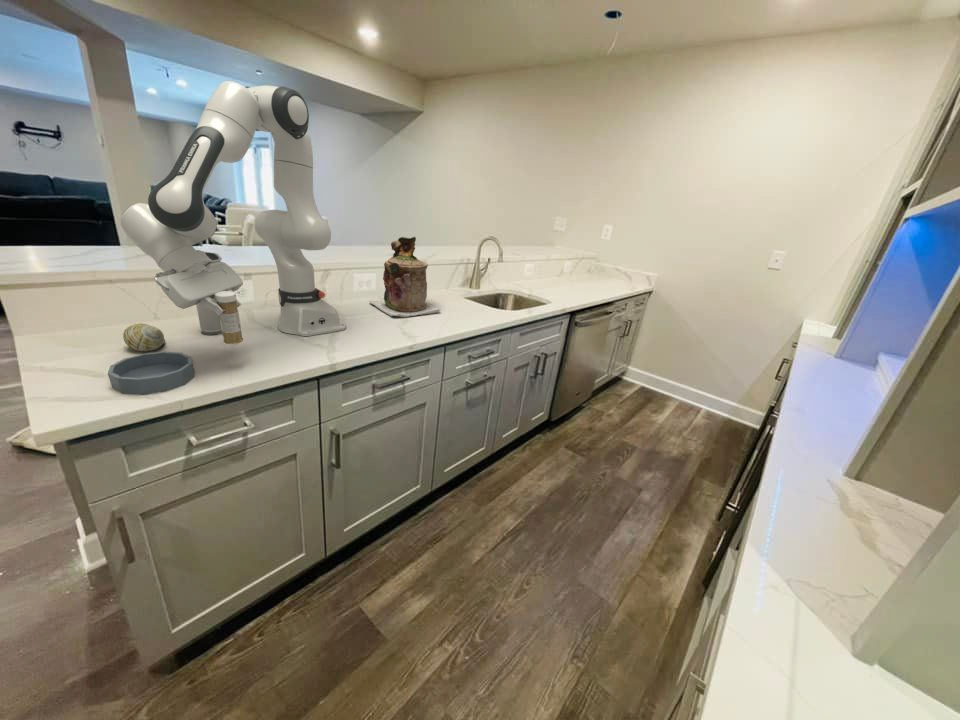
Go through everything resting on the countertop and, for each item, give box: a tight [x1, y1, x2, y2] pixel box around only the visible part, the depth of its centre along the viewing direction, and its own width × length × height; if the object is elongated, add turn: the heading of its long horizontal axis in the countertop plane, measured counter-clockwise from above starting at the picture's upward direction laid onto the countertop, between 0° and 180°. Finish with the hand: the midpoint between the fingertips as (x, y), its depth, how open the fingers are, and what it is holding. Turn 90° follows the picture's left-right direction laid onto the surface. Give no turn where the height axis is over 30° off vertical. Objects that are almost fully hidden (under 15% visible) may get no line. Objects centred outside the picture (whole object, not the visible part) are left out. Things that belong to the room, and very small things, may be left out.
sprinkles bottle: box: [214, 291, 244, 345], centre depth 100 cm, size 5×5×14 cm
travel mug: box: [195, 298, 223, 336], centre depth 121 cm, size 6×7×20 cm
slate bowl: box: [107, 351, 196, 396], centre depth 94 cm, size 16×16×4 cm
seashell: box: [122, 323, 166, 352], centre depth 109 cm, size 10×10×10 cm
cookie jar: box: [368, 236, 442, 318], centre depth 166 cm, size 25×25×32 cm
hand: (230, 309), depth 99 cm, fingers closed on sprinkles bottle, 4 cm apart
